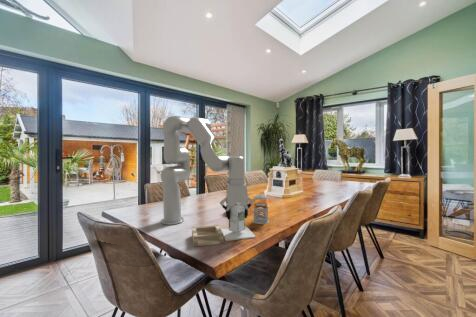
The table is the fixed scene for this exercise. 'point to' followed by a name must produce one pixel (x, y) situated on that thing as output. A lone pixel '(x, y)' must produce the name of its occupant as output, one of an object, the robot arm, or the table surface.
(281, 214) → the table surface
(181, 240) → the table surface
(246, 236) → the mat
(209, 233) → the holder
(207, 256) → the table surface
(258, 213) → the grey lantern
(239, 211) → the syrup box
